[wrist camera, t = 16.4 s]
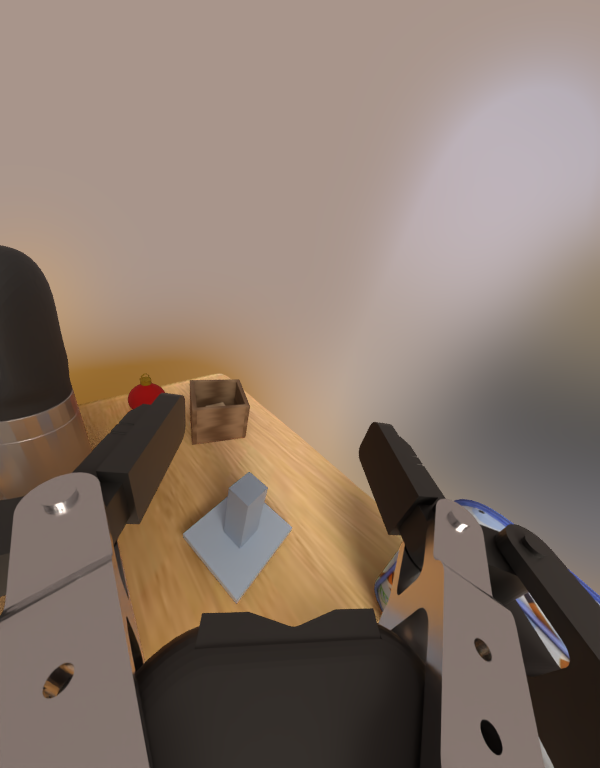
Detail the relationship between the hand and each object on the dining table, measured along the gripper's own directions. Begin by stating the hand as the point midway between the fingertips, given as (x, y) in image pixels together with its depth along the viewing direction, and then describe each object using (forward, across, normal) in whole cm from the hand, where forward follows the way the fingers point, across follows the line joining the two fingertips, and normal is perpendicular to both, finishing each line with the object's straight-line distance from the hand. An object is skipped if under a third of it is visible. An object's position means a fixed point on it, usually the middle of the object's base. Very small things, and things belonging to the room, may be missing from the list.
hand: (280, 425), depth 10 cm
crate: (+35, +9, +32) cm, 48 cm away
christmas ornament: (+37, +25, +32) cm, 55 cm away
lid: (+11, 0, +32) cm, 34 cm away
